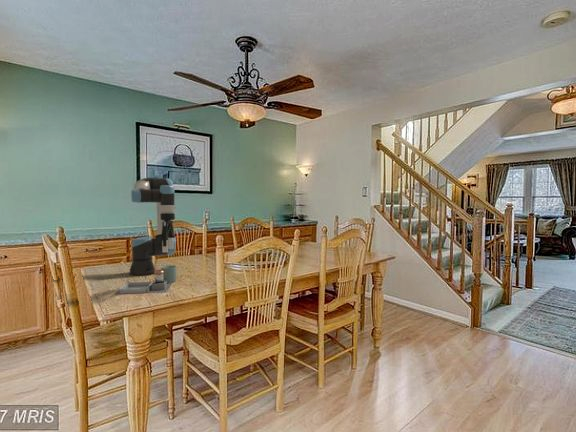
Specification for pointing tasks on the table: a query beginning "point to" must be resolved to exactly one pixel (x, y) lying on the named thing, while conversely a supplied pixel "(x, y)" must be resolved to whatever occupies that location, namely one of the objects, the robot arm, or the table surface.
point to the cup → (170, 273)
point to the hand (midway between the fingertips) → (168, 250)
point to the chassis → (144, 287)
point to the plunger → (159, 276)
